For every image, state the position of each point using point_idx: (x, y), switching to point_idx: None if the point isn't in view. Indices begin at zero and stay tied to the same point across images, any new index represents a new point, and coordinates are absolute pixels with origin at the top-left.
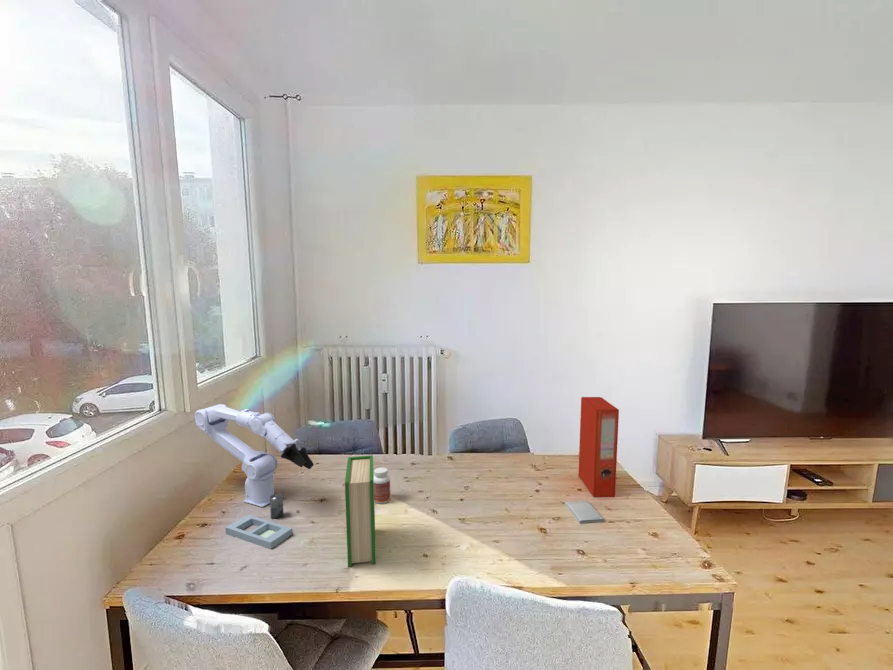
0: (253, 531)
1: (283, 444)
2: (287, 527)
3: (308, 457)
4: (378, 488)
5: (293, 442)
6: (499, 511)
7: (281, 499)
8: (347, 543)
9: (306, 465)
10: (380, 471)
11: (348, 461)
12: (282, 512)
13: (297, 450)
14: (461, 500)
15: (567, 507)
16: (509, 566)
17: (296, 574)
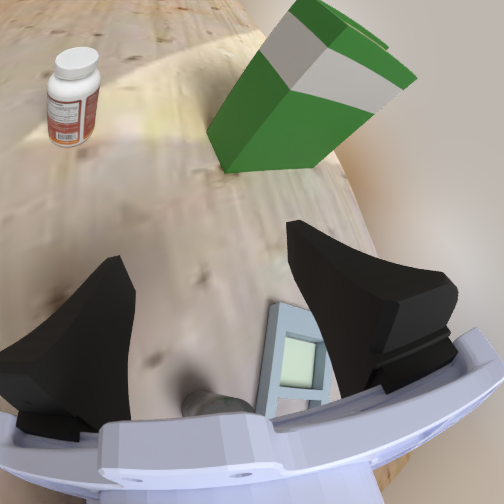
0: (316, 393)
1: (496, 360)
2: (280, 317)
3: (92, 294)
4: (96, 98)
5: (332, 427)
6: (140, 16)
7: (228, 397)
8: (338, 144)
9: (127, 311)
10: (87, 56)
11: (366, 37)
12: (205, 392)
13: (362, 267)
14: (100, 35)
15: None
16: (249, 40)
17: (350, 237)
